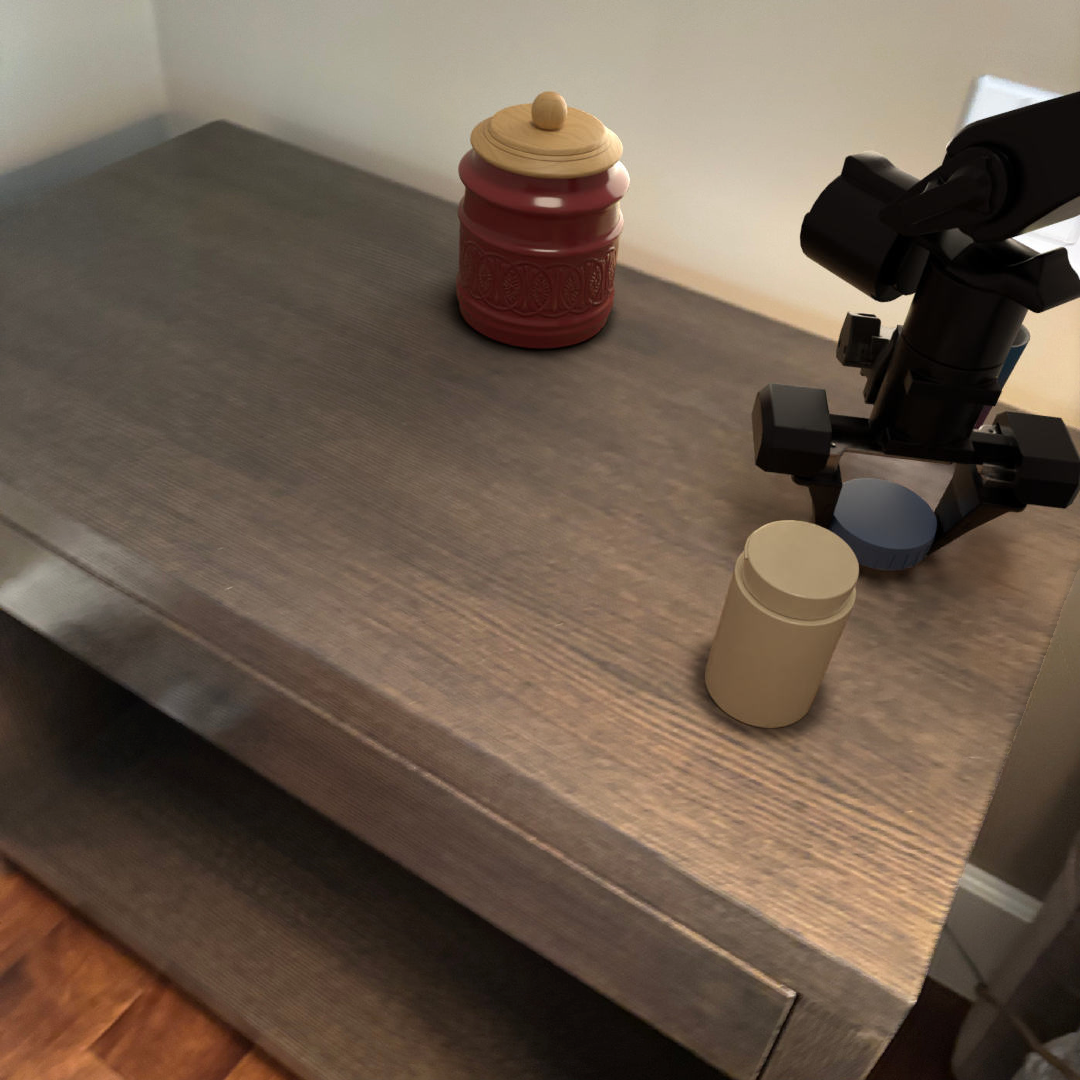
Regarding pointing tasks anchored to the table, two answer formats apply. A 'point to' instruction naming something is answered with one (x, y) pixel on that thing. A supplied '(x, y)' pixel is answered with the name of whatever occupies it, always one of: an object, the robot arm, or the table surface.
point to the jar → (781, 622)
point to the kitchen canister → (540, 224)
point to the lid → (884, 523)
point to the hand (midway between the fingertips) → (870, 544)
